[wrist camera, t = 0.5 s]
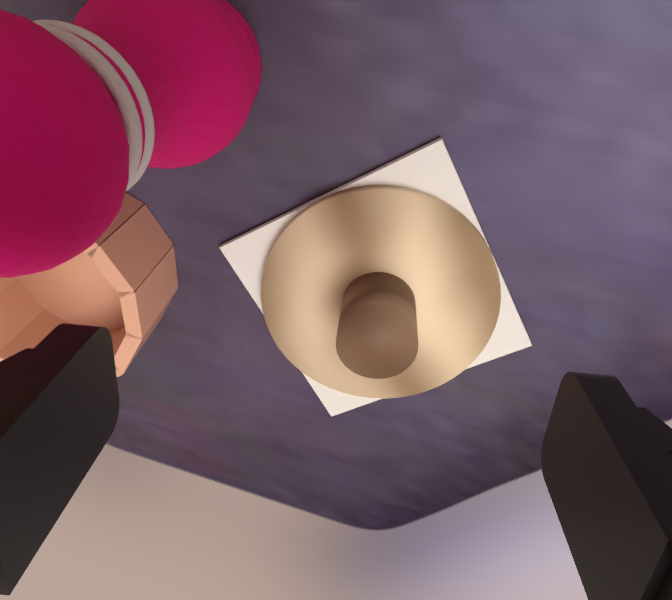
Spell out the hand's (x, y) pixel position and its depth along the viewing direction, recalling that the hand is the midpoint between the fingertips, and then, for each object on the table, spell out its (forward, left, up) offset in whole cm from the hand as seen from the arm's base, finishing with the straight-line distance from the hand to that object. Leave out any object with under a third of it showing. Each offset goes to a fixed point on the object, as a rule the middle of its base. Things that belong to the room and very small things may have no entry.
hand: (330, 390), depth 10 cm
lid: (+4, +8, -20) cm, 22 cm away
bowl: (+18, -1, -20) cm, 27 cm away
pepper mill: (+6, -7, -21) cm, 22 cm away
